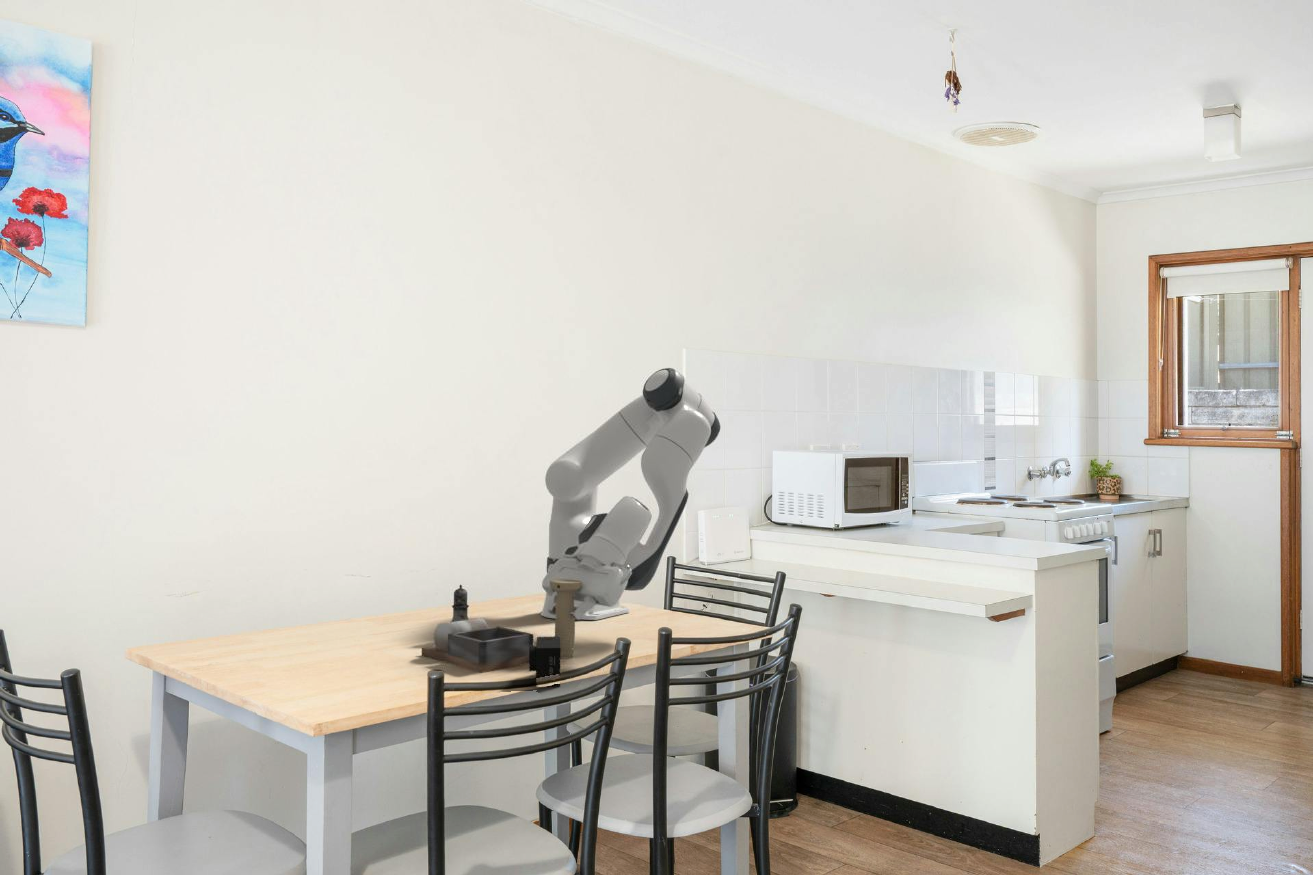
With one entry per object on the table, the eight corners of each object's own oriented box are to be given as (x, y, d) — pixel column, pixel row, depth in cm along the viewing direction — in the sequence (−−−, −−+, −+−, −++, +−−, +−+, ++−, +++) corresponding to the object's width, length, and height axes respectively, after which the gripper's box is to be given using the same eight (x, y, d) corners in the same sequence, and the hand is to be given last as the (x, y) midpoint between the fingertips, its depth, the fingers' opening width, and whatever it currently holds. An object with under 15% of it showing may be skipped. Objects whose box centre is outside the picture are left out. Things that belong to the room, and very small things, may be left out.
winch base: (471, 646, 210) (472, 614, 210) (532, 662, 196) (533, 627, 196) (421, 655, 202) (422, 621, 202) (481, 672, 188) (482, 635, 188)
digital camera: (529, 673, 187) (530, 635, 187) (559, 673, 188) (560, 635, 188) (528, 687, 177) (529, 647, 177) (560, 687, 178) (560, 647, 178)
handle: (570, 660, 198) (572, 583, 198) (544, 656, 202) (545, 581, 202) (584, 656, 203) (585, 581, 203) (558, 652, 206) (559, 578, 206)
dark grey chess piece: (440, 640, 216) (441, 584, 216) (462, 636, 221) (463, 581, 221) (456, 644, 212) (457, 587, 212) (479, 640, 217) (480, 584, 217)
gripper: (643, 576, 203) (606, 632, 196) (575, 566, 217) (538, 618, 210) (627, 556, 200) (589, 611, 193) (559, 547, 214) (522, 598, 207)
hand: (562, 614), depth 202 cm, fingers open, 5 cm apart
